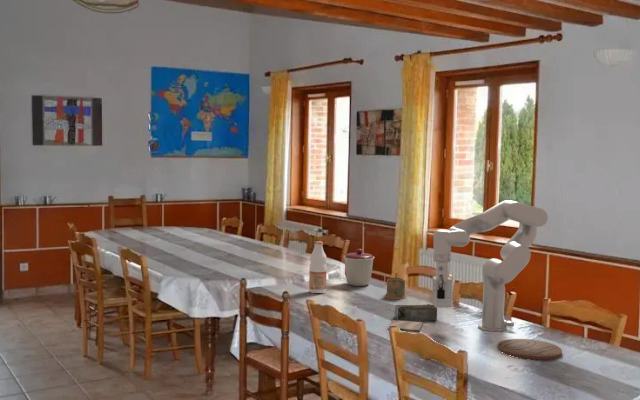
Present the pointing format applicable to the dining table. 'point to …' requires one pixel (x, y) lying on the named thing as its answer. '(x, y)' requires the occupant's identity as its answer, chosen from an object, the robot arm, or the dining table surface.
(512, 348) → the trivet
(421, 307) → the beverage carton
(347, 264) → the canister
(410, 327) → the tan square board
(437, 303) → the supplement box
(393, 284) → the rusty metal bell
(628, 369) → the dining table surface
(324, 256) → the fruit juice
